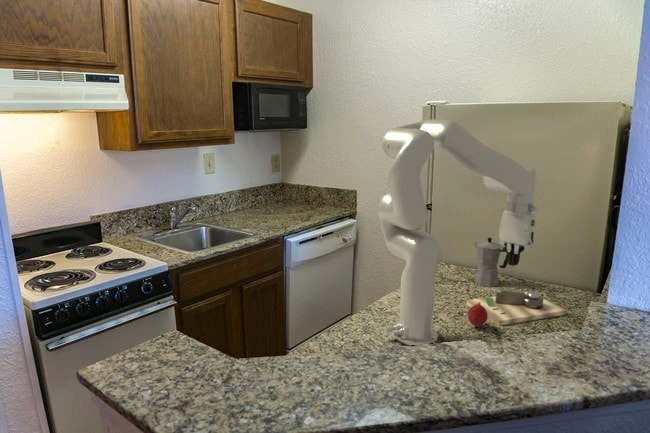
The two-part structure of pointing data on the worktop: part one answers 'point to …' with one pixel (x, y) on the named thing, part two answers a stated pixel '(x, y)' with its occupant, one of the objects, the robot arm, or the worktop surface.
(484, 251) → the coffeepot
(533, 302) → the dial
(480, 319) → the onion
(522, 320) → the tuner board
